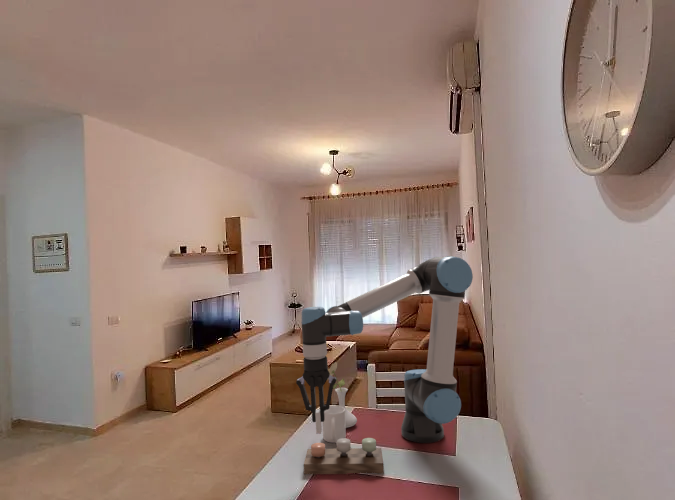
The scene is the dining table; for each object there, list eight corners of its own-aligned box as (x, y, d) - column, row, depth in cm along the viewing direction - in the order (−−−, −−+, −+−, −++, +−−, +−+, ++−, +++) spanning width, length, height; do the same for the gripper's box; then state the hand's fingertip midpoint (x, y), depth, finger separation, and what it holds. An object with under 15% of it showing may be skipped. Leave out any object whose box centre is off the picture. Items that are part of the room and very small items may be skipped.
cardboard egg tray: (381, 457, 132) (381, 447, 132) (383, 473, 122) (383, 463, 122) (307, 458, 133) (307, 449, 133) (304, 474, 123) (303, 464, 123)
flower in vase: (343, 417, 167) (341, 355, 168) (363, 424, 158) (361, 360, 159) (318, 426, 158) (316, 362, 159) (338, 435, 150) (336, 366, 150)
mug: (345, 448, 139) (344, 417, 139) (321, 448, 139) (320, 418, 140) (346, 433, 151) (345, 405, 151) (324, 433, 151) (323, 405, 152)
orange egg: (325, 455, 130) (325, 442, 130) (325, 462, 125) (324, 448, 125) (312, 456, 130) (311, 442, 130) (310, 462, 125) (310, 449, 125)
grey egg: (350, 451, 129) (350, 438, 129) (350, 458, 125) (350, 444, 125) (337, 451, 129) (336, 438, 130) (336, 458, 125) (336, 444, 125)
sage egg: (376, 451, 129) (375, 437, 129) (376, 457, 125) (376, 443, 125) (362, 451, 129) (361, 437, 129) (362, 457, 125) (362, 444, 125)
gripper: (336, 352, 132) (340, 426, 131) (296, 354, 132) (300, 427, 132) (335, 358, 124) (339, 436, 124) (293, 360, 125) (296, 437, 124)
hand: (319, 431), depth 128 cm, fingers closed
